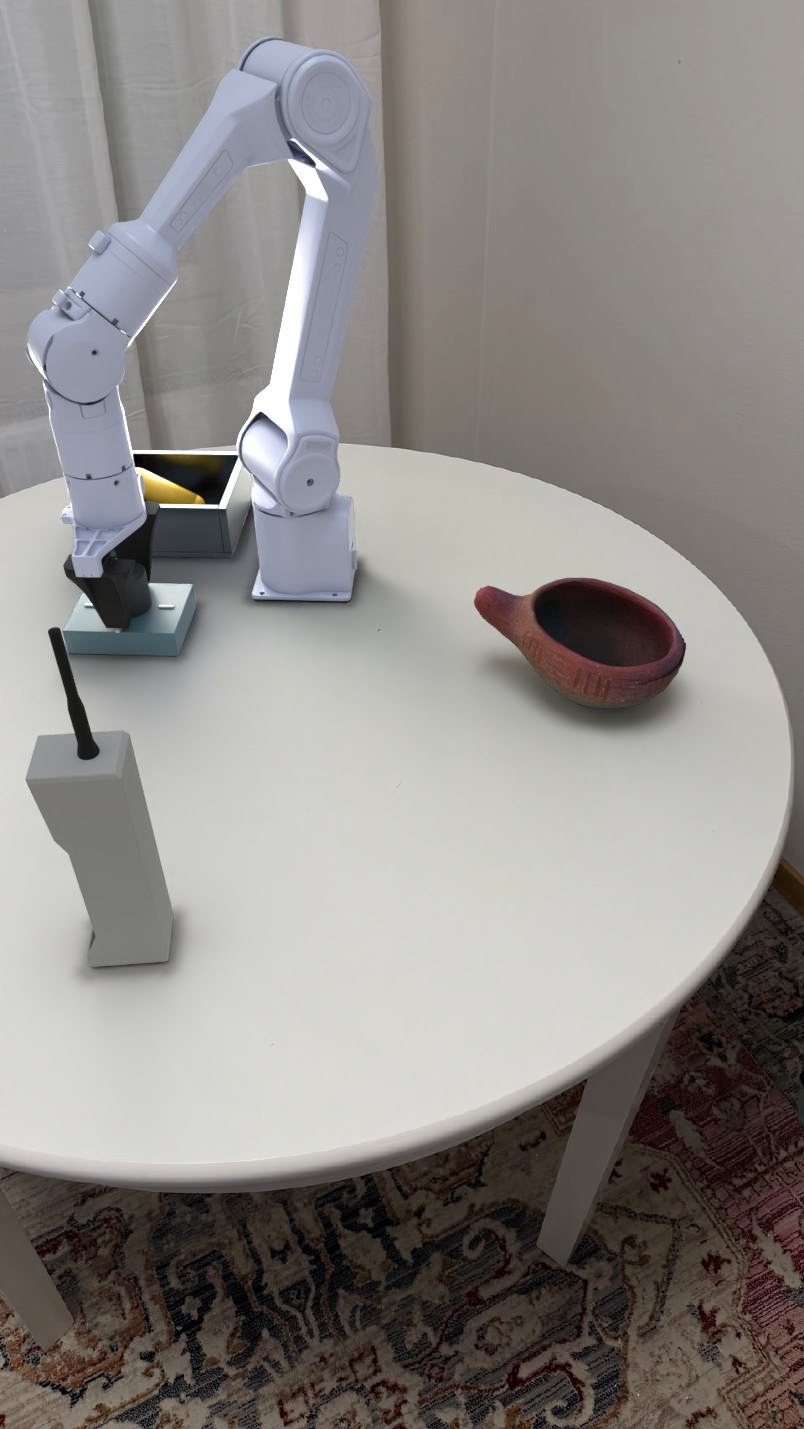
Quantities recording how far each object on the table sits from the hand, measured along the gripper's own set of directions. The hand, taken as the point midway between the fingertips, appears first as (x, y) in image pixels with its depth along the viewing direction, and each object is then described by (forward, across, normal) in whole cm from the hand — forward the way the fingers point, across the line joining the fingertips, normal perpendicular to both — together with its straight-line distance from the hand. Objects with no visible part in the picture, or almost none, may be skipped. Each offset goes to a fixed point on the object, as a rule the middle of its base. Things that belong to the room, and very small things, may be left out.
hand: (128, 603), depth 91 cm
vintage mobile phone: (+3, +35, +9) cm, 36 cm away
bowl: (+3, +7, +40) cm, 41 cm away
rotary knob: (0, 0, 0) cm, 0 cm away
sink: (+3, -19, -1) cm, 19 cm away
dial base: (+3, 0, 0) cm, 3 cm away
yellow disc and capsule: (0, -19, -3) cm, 20 cm away
